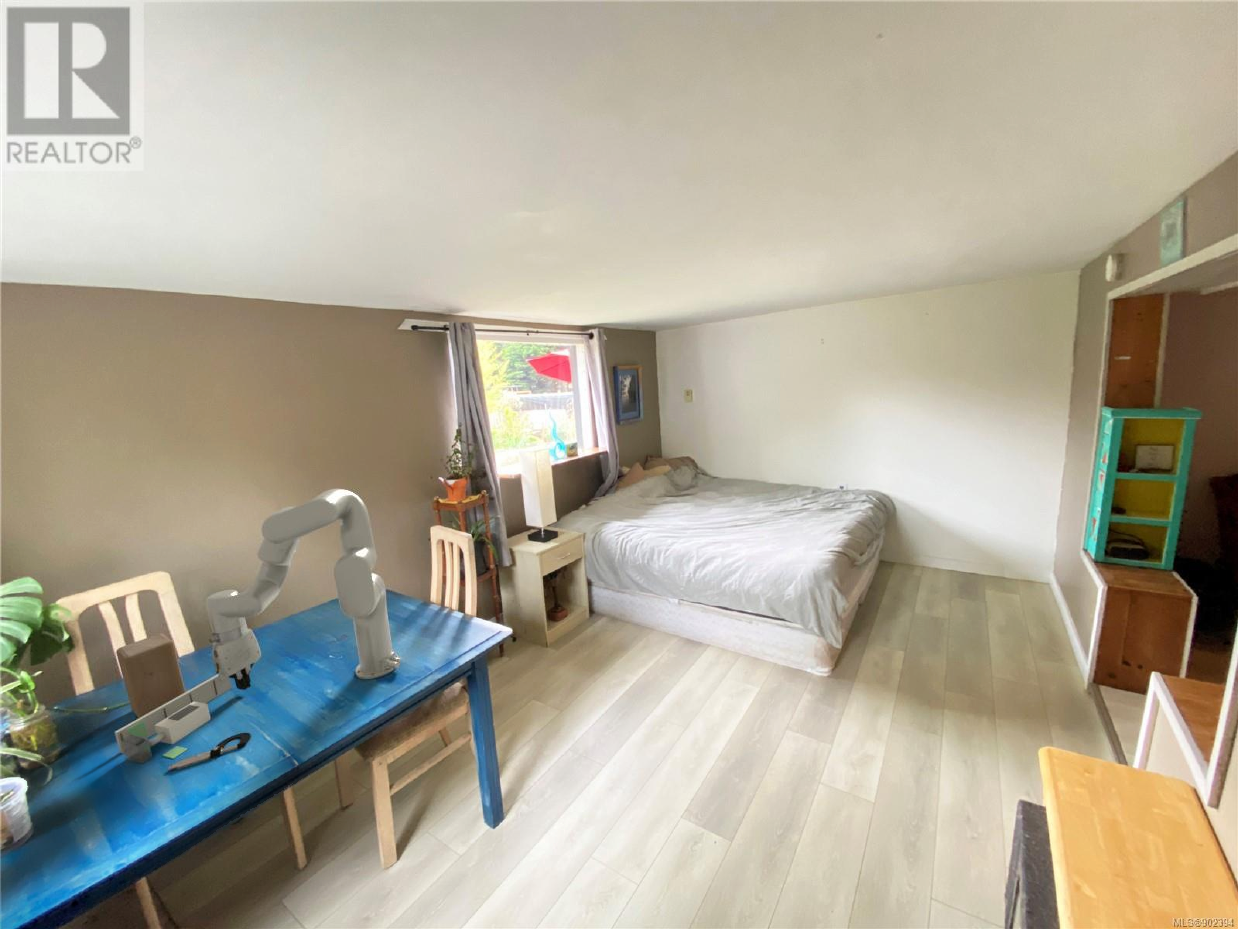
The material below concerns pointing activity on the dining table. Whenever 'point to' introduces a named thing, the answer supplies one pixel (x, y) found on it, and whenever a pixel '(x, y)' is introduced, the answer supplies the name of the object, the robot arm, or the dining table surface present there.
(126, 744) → the grey faceted block
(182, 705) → the scale board
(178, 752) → the green flat block
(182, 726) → the white slotted box
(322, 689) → the dining table surface
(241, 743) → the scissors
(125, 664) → the wooden block
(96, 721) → the dining table surface
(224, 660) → the robot arm
